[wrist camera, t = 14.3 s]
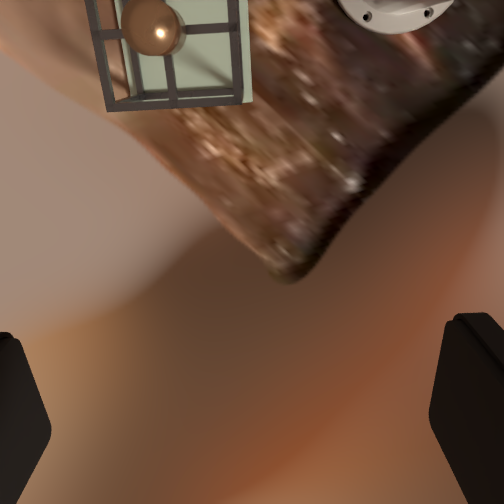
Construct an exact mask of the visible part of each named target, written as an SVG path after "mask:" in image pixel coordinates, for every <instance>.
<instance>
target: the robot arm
mask: <svg viewBox="0 0 504 504" xmlns="http://www.w3.org/2000/svg"><path fill="white" fill-rule="evenodd" d="M337 1H338V3H339V5H340V7H341V8H342V9H343V11H344V12H345V13H346V15H347V16H348V17H349V18H350V19H352V20H353V21H354V22H355V23H356V24H357V25H359V26H361V27H363V28H365V29H366V30H368V31H372V32H375V33H379V34H391V35H394V34H402V33H406V32H410V31H413V30H416V29H418V28H421V27H423V26H425V25H427V24H429V23H430V22H431V21H433V20H434V19H436V18H437V17H438V16H440V15H441V14H442V13H443V12H444V11H445V10H446V9H447V8H448V7H449V6H450V5H451V4H452V3H453V1H454V0H337ZM424 11H427V13H428V14H427V16H426V17H425V16H424ZM364 14H366V15H367V17H368V18H367V20H366V21H365V20H363V15H364ZM429 421H430V425H431V428H432V430H433V432H434V434H435V436H436V438H437V440H438V442H439V444H440V446H441V449H442V451H443V452H444V455H445V457H446V459H447V461H448V463H449V464H450V467H451V469H452V471H453V473H454V475H455V477H456V479H457V481H458V484H459V486H460V487H461V490H462V492H463V494H464V496H465V498H466V500H467V502H468V504H504V330H503V329H502V328H501V327H500V326H499V325H498V324H497V323H496V322H495V320H494V319H493V318H492V317H491V316H490V315H488V314H487V313H483V312H482V313H458V314H457V315H455V316H454V318H453V320H452V321H447V323H446V325H445V329H444V334H443V340H442V345H441V350H440V355H439V360H438V366H437V371H436V376H435V381H434V386H433V391H432V397H431V402H430V407H429ZM50 437H51V423H50V420H49V418H48V415H47V412H46V410H45V407H44V404H43V401H42V399H41V396H40V393H39V391H38V388H37V385H36V383H35V380H34V377H33V374H32V372H31V369H30V366H29V364H28V361H27V358H26V355H25V353H24V350H23V347H22V345H21V343H20V341H19V340H18V339H16V338H14V337H13V336H12V335H11V334H10V333H8V332H0V504H16V503H17V501H18V499H19V497H20V495H21V494H22V491H23V490H24V488H25V486H26V484H27V482H28V480H29V478H30V476H31V474H32V473H33V471H34V469H35V467H36V465H37V463H38V461H39V459H40V457H41V456H42V454H43V452H44V450H45V448H46V446H47V444H48V442H49V440H50Z"/></svg>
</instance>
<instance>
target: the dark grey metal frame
mask: <svg viewBox="0 0 504 504" xmlns="http://www.w3.org/2000/svg"><path fill="white" fill-rule="evenodd" d="M85 5H86V10H87V15H88V20H89V25H90V30H91V35H92V40H93V45H94V50H95V55H96V60H97V65H98V70H99V75H100V80H101V85H102V90H103V95H104V100H105V105H106V110H107V112H121V111H138V110H156V109H173V108H191V107H208V106H226V105H242V102H243V98H244V79H243V62H242V44H241V27H240V10H239V0H227V8H228V22H226V23H209V24H193V25H185V22H184V20H183V18H182V16H181V15H180V14H179V12H178V11H176V10H175V9H174V8H172V7H171V6H169V5H167V4H166V0H122V5H123V11H122V14H121V29H113V30H102V29H101V24H100V18H99V13H98V8H97V3H96V0H85ZM213 33H229V37H230V52H231V66H232V81H233V88H224V89H206V90H189V91H177V84H176V76H175V68H174V60H173V55H174V54H176V53H178V52H179V51H180V50H181V49H182V47H183V46H184V44H185V41H186V37H187V35H197V34H213ZM115 39H125V40H126V42H127V43H128V44H129V47H130V53H131V59H132V65H133V71H134V77H135V83H136V89H137V94H135V95H132V96H129V97H126V98H123V99H120V100H116V101H115V98H114V92H113V87H112V82H111V77H110V71H109V66H108V61H107V55H106V50H105V45H104V40H115ZM139 53H140V54H142V55H146V56H163V58H164V66H165V73H166V81H167V88H168V92H155V93H145V91H144V84H143V78H142V72H141V65H140V59H139ZM224 95H234V96H225V97H207V96H224ZM190 97H207V98H190ZM178 98H190V99H178ZM155 99H169V100H155ZM143 100H155V101H143Z"/></svg>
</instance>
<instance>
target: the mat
mask: <svg viewBox="0 0 504 504" xmlns="http://www.w3.org/2000/svg"><path fill="white" fill-rule="evenodd" d="M114 1H115V7H116V13H117V19H118V25H119V29H121V14H122V11H123V5H122V0H114ZM166 4H167V5H169V6H171V7H172V8H174V9H175V10H176V11H178V12H179V14H180V15H181V16H182V18H183V20H184V22H185V25H193V24H209V23H226V22H228V8H227V0H166ZM239 10H240V27H241V44H242V62H243V79H244V98H243V102H253V101H252V81H251V61H250V41H249V21H248V1H247V0H239ZM121 42H122V48H123V54H124V59H125V65H126V71H127V77H128V83H129V88H130V94H131V96H132V95H135V94H137V89H136V83H135V77H134V71H133V65H132V59H131V53H130V47H129V44H128V43H127V42H126V40H125V39H121ZM139 59H140V65H141V72H142V78H143V84H144V91H145V93H155V92H168V88H167V81H166V73H165V66H164V58H163V56H146V55H142V54H140V53H139ZM173 60H174V68H175V76H176V84H177V91H189V90H206V89H224V88H233V81H232V66H231V52H230V37H229V33H213V34H197V35H187V37H186V41H185V44H184V46H183V47H182V49H181V50H180V51H179V52H178V53H176V54H174V55H173ZM225 96H234V95H224V96H207V97H225ZM207 97H190V98H207ZM190 98H178V99H190ZM155 100H169V99H155ZM155 100H143V101H155ZM243 102H242V103H243Z"/></svg>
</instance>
